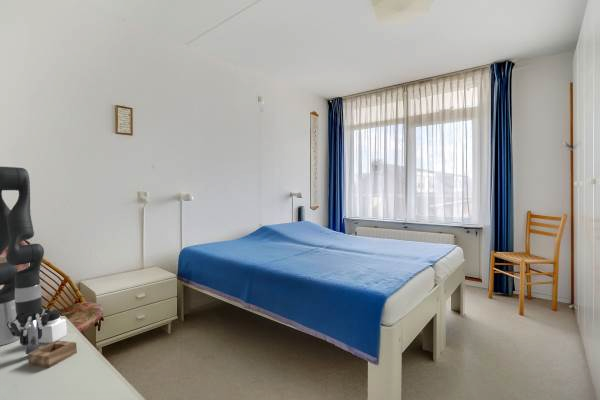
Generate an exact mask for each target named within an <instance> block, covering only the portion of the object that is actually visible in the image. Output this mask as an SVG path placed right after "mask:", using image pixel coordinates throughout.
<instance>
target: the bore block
mask: <svg viewBox="0 0 600 400" xmlns="http://www.w3.org/2000/svg"><path fill="white" fill-rule="evenodd" d="M77 353H78V350H77V342H75V341H64V340H56V341H54V342H52V343H46V345H43V346H42V347H39V349H37V350H35V351H33V352H31V353H29V354H27V360H28V361H27V362H28V366H34V367H43V368H46V369H47V368H49V369H50V368H52V367H54V366H55V365H58V364H59V363H61V362H63V361H65V360H66V359H68V358H71V356H73V355H75V354H77Z"/></svg>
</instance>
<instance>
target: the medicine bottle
mask: <svg viewBox="0 0 600 400" xmlns="http://www.w3.org/2000/svg"><path fill="white" fill-rule="evenodd" d="M50 310H51V312H50V316H49V319H48V323H47V325H45V326H43V328H42V337H41V339H39V344H50V343H52V342H54V341H56V340H58V341H60V340H61V339H63V338H64V337H66V336H67V335H68V330H67V329H68V328H67V320H66V319H65V318H63V319H61V311H60V310H59V309H54V308H53V309H50ZM41 317H42V314H41V316H40V318H41Z"/></svg>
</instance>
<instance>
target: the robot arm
mask: <svg viewBox="0 0 600 400" xmlns="http://www.w3.org/2000/svg"><path fill="white" fill-rule="evenodd" d="M30 183H31V182H30V175H29V172H28V170H27V169H26V168H24V167H19V166H18V167H16V166H15V167H14V166H0V256H1V255H2V254H3V253H4V252H5V250H6V249H7V251H6V253H5V255H6V256H5V260H6V261H5V262H4V261H3V262H0V286H2V287H1V288H0V346H4V345H8V344H11V343H13V342H14V343H15V342H16V341H18V340H19V344H20V345H22V346H24V347H25V345H28V337H27V330H28V329H29V326H30V321H33V320H37V324H38V339H41V337H42V328H43V326H45V325H47V323H48V319H49V316H50V312H51V310H52V309H48V308H44V309H43V308H42V307H43V299H42V298H43V297H42V287H41V281H40V280H41V279H40V271H41V265H42V261H43V260H44V259H43V258H44V255H45V248H44V246H42V244H40V243H30V244H28V243H27V244H23V245H19V243H21V242H24V241H28V240H30V239H32V238H33V237H34V235H35V231H34V227H33V226H34V225H33V220H32V215H31V214H32V213H31V184H30ZM3 191H18V198H17V201H16V202H15V203H14V205H13V207H12V208H11V209H10V207H9V206H8V205H7V204H6V202H5V200H4V198H3V195H2V194H3ZM26 264H29V266H27V267H26V268H23V269H21V270H18V269H19V268H18V266H20V265H26ZM41 315H42V317H41ZM23 325H25V327H24V326H23Z"/></svg>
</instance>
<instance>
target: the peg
mask: <svg viewBox="0 0 600 400" xmlns="http://www.w3.org/2000/svg"><path fill="white" fill-rule="evenodd" d="M23 326H24V327H25V325H23ZM27 337H28V345H25V346H24V354H25V355H28V354H29V353H31V352H33V351H35V350H37V349H39V348H40V343H39V339H38V324H37V320H33V321H30V326H29V329H28V330H27Z"/></svg>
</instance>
